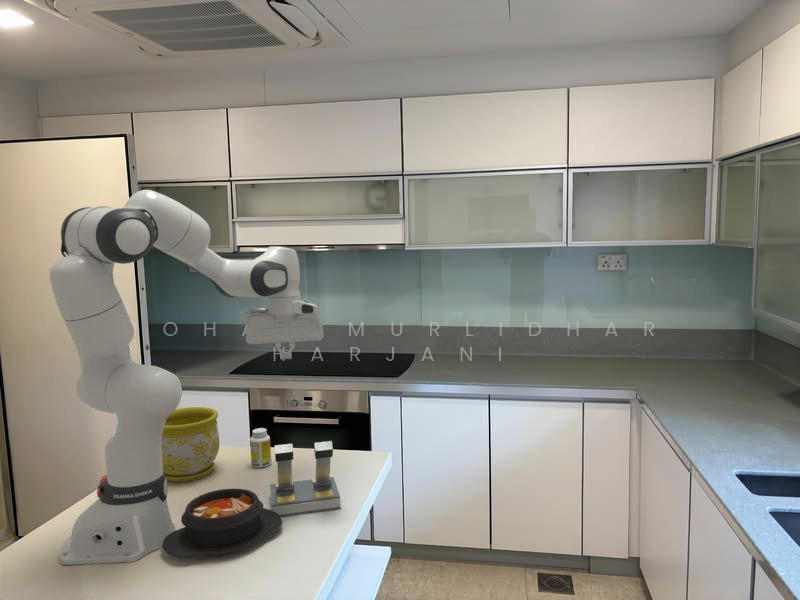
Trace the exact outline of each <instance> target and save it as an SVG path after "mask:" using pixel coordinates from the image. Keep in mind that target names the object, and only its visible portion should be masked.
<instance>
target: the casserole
mask: <svg viewBox="0 0 800 600" xmlns="http://www.w3.org/2000/svg"><path fill="white" fill-rule="evenodd" d="M184 510H185V511H184V512H183V514H182V515H181V519H180V520H181V524H182V525H183V526H184V527H182V528H179V529H177V530H176V529H175V530H176V531H174V532H172V533H170V534H169V535H167V536H166V538H165V539H164V541H163V546H162V549H163V550H164V552H165V553H166V554H167V555H169V556H171V557H174V558H179V559H180V558H181V559H185V558H192V557H197V556H205V555H206V556H207V555H208V556H209V555H220V554H227V553H228V554H229V553H231V552H235V551H239V550H242V549H244V548H246V547H249V546H250V545H252V544H254V543H256V542H257V541H259V540H261V539H262V538H263V537H264V536H266V535H268V534H270V533H272V532H275V531H276V530H278V529H279V528H280V527H281V526H282V524H283V521H282V518H281V517H282V516H279V515H278V514H277V513H276V512H274V511H271V509H268V508H264V504H263V502H262V501H261V500H260V499H259V497H258V495H257V493H255V492H253V491H251V490H249V489H245V488H224V489H223V488H221V489H218V490H213V491H209V492H206V493H203V494H200V495H199V496H196V497H195V498H193V499H192V500H190V501H189V503H187V505H186V506H185V509H184Z"/></svg>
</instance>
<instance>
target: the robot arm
mask: <svg viewBox="0 0 800 600" xmlns="http://www.w3.org/2000/svg"><path fill="white" fill-rule="evenodd" d="M211 237H212V235H211V228H210V225H209V223H208V222H207V221H206V220H205V219H204V218H203V217H202V216H201V215H200V214H199V213H196V212H195V211H194V210H192V209H190V208H189V207H187V206H185V205H184V204H182V203H181V202H179V201H177V200H175V199H173V198H171V197H170V196H167V195H165V194H162V193H160V192H157V191H155V190H151V189H143V190H139V191H136V192H135V193H133V194H132V195H131V196H129V198H128V199H127V201H126V202H125V205H124V207H122V208H121V207H111V206H104V205H103V206H93V207H90V206H88V207H87V206H86V207H81V208H78V209H75V210H73V211H72V212H70V213H69V214H68V215H66V217H65V218H64V220H63V221H62V224H61V228H60V240H61V244H60V253H61V255H62V256H63V257H62V258H60V259H59V260H57V261H56V262H55V263H54V264H53V265H52V266H51V268H50V270H49V281H50V285H51V290H52V293H53V295H54V296H53V297H54V299H55V302H56V303H55V304H56V305H57V308H58V310H59V313H60V315H61V317H62V320H63V322H64V323H65V326H66V327H67V330H68V332H69V334H70V336H71V339H72V341H73V343H74V346H75V348H76V350H77V353H78V354H77V355H78V358H79V362H80V369H81V370H80V371H81V372H80V373H79V376H78V378H77V381H76V386H75V387H76V393H77V396H78V398H79V400H80V401H82V403H84V404H85V405H87V406H89V407H90V408H93V409H95V410H97V411H99V412H104V413H107V414H108V413H109V414H114V415H116V417H117V425H116V431H115V433H114V436H112V437H110V439H109V440H108V441H107V442H106V445H105V447H104V457H105V468H106V474H105V475H103V476H102V477H100V478H101V479H100V480H99V482H98V483H99V484H98V486H97V490H96V496H97V497H96V498H97V499H96V500H95V501H94V502H93V503H92V504H91V505H89V506H88V507H87V508H86V509H85V510H84V511H83V512H82V513H80V514H79V516H78V517H77V518H76V520H75V522H74V524H73V527H72V530H71V534H70V535H71V536H70V537H69V538H68V539H67V540H66V541H65V542H64V543H63V545H62V547H61V548H60V552H59V562H60V563H61V565H63V566H68V565H88V564H89V565H90V564H92V565H93V564H109V563H129V562H135V561H138V560H139V559H141V558H143V557H144V556H146V555H147V554H149V553H151V552H153V551H156V550H157V549H160V548H163V541H164V539H165V538H166V536H167V535H169V534H170V533H172V532H174V531H176V527H175V526H174V522H173V520H172V517H171V514H170V509H169V505H168V500H167V498H168V493H169V491H168V480H167V478H166V474H165V471H164V470H163V460H162V434H163V429H164V426H165V423H166V420H167V418H168V416H169V415H170V414H171V413H173V412H174V411H175V409H178V407H179V405H180V403H181V400H182V396H183V388H182V387H183V386H182V384H181V381H180V378H179V377H178V376H177V375H176V374H174V373H173V372H171V371H169V370H167V369H165V368H162V367H161V366H160V367H159V366H157V365H151V364H150V365H149V364H143V363H142V364H140V363H136V362H135V361H134V359H133V358H132V356H131V354H130V353H131V351H130V345H129V344H130V343H131V341H132V340H133V339H134V336H135V327H134V326H133V323H132V321H131V319H130V316H129V314H128V311H127V309H126V306H125V304H124V302H123V299H122V297H121V295H120V293H119V291H118V288H117V287H116V284H115V279H114V267H115V264H122V265H123V264H124V265H125V264H131V263H136V262H137V261H139V260H141V259H143V258H144V257H146V256H147V255H148V254H149V252H150V251H151V250H152V247H154V248H156V249H158V250H160V251H161V252H163V253H165V254H167V255H169V256H171V257H173V258H175V259H177V260H179V261H180V262H182V263H183V264H185V265H186V266H187V267H189V268H191V269H192V270H194V271H196V272H197V273H199V274H200V275H202V276H204V278H205V279H208V281H210V282H211V283H212V284H213V286H214V287H215V289H216V290H217V291H218V292H219V293H220V294H221V295H223V296H224V297H226V298H266V307H261V308H249V309H248V310H247V311H246V312H244V315H243V322H244V324H245V325H246V332H245V333H246V336H245V339H246V340H245V341H246V343H247V344H249V345H261V344H262V345H263V344H275V348H276V350H277V351H278V353H279V357H280V360H292V353H293V351H294V350H295V348H296V343H298V342H314V341H315V342H317V341H322V339H323V338H324V329H323V327H324V326H323V323H322V319H321V317H320V316H319V314H318V311H319V308H318V306H317V304H314V303H310V302H308V301H306V300H301V293H300V287H299V285H300V282H301V279H300V278H301V275H300V271H301V270H300V262H299V261H300V260H299V257H298V253H297V251H296V250H295V249H294V248H292V247H289V246H286V245H285V246H283V245H271V246H268V247H267V249H266V251H265V252H263V253H262V254H261V255H259V256H257V257H254V259H235V258H233V259H231V258H224V257H222V256H220V255H219V254H217V253H216V252H215V251H213V250H212V249H210V248H209V245H210V241H211ZM282 343H289V346H290V348H289V350H288V351H283V350H282V349H281V347H282Z"/></svg>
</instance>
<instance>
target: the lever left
mask: <svg viewBox="0 0 800 600" xmlns="http://www.w3.org/2000/svg"><path fill="white" fill-rule="evenodd" d="M274 457H275V460H274V461H275V463H276V467H277V468H276V469H277V483H278V487H276V493H279V492H287V491H295V489H294V485H292V482H293V478H292V477H293V474H292V473H293V472H292V470H293V469H292V467H293V466H292V463H293V460H294V446H293V443H287V444H285V443H283V444H277V445H276V444H275V445H274Z"/></svg>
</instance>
